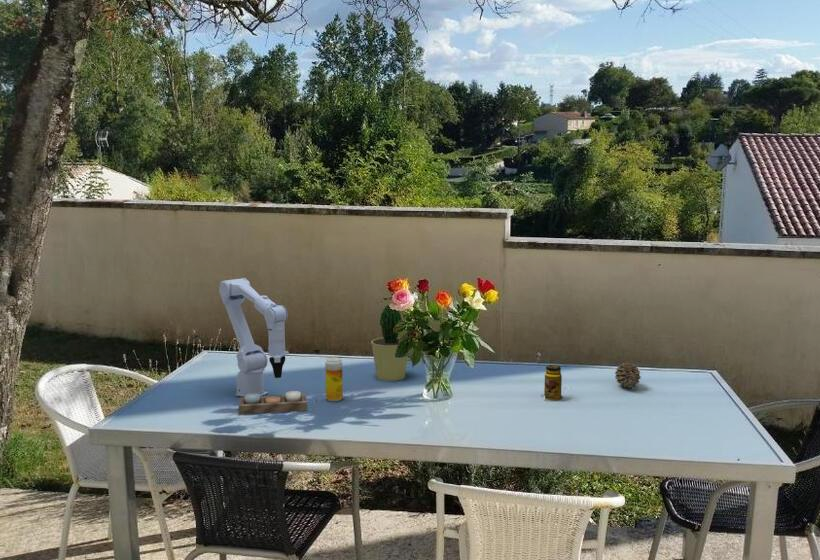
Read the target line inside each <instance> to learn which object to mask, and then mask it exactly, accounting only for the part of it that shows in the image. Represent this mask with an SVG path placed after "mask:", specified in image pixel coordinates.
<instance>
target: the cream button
mask: <svg viewBox="0 0 820 560" xmlns="http://www.w3.org/2000/svg"><path fill="white" fill-rule="evenodd" d="M301 394H302V393H301V391H296V390H289V391H287V392H285V395H286V402H292V401H301Z"/></svg>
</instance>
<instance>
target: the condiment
mask: <svg viewBox="0 0 820 560" xmlns="http://www.w3.org/2000/svg"><path fill="white" fill-rule="evenodd" d="M561 370H562V367H561V366H560V365H557V364H550V365H549V364H548V365H546V367H545V373H544V393H541V394H540V395H541V398H543V396H545V400H544V401H545V402H557V401H558V402H560V401H561V402H562V401H565V398H564V397H563V396H562V380H563V379H562V377H563V375H562V373H561V372H562V371H561ZM542 394H543V395H542Z"/></svg>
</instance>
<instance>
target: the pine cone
mask: <svg viewBox="0 0 820 560" xmlns="http://www.w3.org/2000/svg"><path fill="white" fill-rule="evenodd" d="M615 370H616V371H614V375H615V376H614V378H615V380H616V383H618V385H621V386H620V387H624V388H625V387H626V388H628V389H629V388H632V387H633V388H635V387H636V386H638V384H639V383H640V379H642V376H641V375H640V374H641V370H639V367H638V365H635V363H633V364H632V363H630V362H629V363H628V362H622V363H621V364H619V366H617V367H616V369H615Z"/></svg>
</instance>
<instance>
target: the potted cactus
mask: <svg viewBox="0 0 820 560" xmlns="http://www.w3.org/2000/svg"><path fill="white" fill-rule="evenodd" d="M389 305H390V304H388V305H385V306H384V308H382V309H381V310H382V312H381V313H380V314H381V315H378V317H379V318H378V319H380V320H379V323H378V326H380V327H381V330H379V331H380V333H381V334H382V337H378V338H375V339H372V340H371V341H370V342H371V347H372V354H373V355H372V356H373V361H374V367H375V368H374V369H375V373H376V375H375V376H376V378H377V379H378V380H379V379H380V381H383V380H384V382H396V381H402V380H404V379H405V377H406V372H407V364H408V356H409V355H408V356H407V357H404V358H396V357H395V353H396V349H397V346H398V343H399V339H400V338H401V337H398V335H399V333H395V332H393V328H394V327H395V325H396V324H397V323H398V322H399V321H401V322H402V320H403V317H402V314H401V312H400V310H398V311H396V310H392V309H390V307H389Z"/></svg>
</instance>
